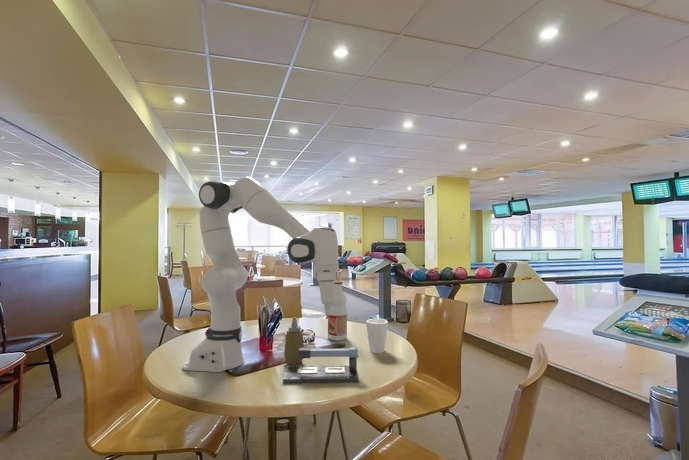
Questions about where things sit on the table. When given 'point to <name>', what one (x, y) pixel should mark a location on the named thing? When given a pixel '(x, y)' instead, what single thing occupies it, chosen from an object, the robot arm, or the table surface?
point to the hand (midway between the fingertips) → (327, 311)
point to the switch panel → (322, 374)
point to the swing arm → (328, 352)
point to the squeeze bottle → (293, 344)
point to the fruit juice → (338, 314)
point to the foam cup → (377, 334)
